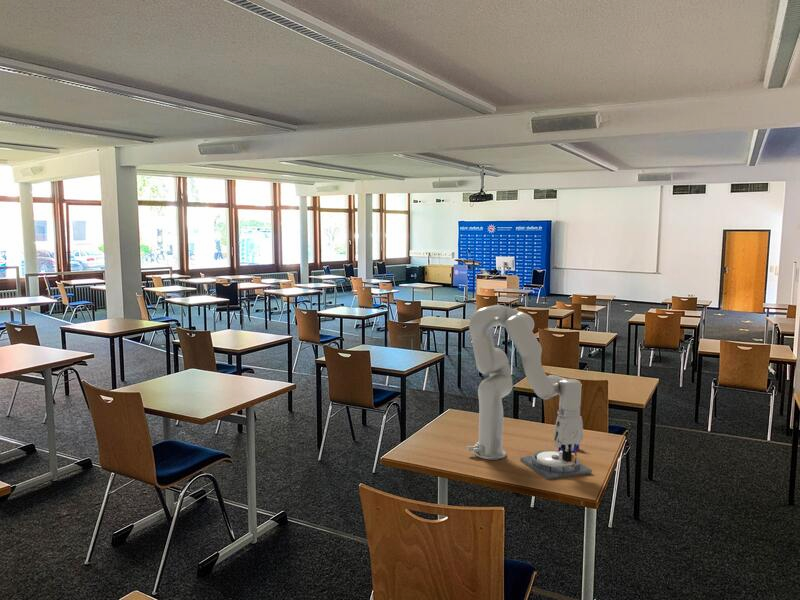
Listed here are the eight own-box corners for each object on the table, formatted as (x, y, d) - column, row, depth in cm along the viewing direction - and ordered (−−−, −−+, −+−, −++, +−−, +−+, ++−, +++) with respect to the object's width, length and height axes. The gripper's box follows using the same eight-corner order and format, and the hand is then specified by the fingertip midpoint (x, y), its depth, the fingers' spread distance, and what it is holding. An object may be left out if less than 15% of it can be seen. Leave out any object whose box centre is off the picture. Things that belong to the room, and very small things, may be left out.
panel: (547, 479, 211) (547, 470, 211) (520, 460, 229) (520, 452, 229) (591, 473, 218) (592, 464, 217) (562, 455, 235) (562, 447, 235)
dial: (531, 464, 221) (531, 451, 221) (544, 453, 233) (544, 441, 232) (567, 472, 214) (568, 459, 213) (579, 461, 225) (580, 448, 225)
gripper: (559, 417, 210) (556, 466, 212) (592, 413, 215) (589, 461, 217) (546, 411, 217) (543, 459, 218) (578, 408, 222) (575, 454, 224)
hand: (566, 460), depth 218 cm, fingers closed
